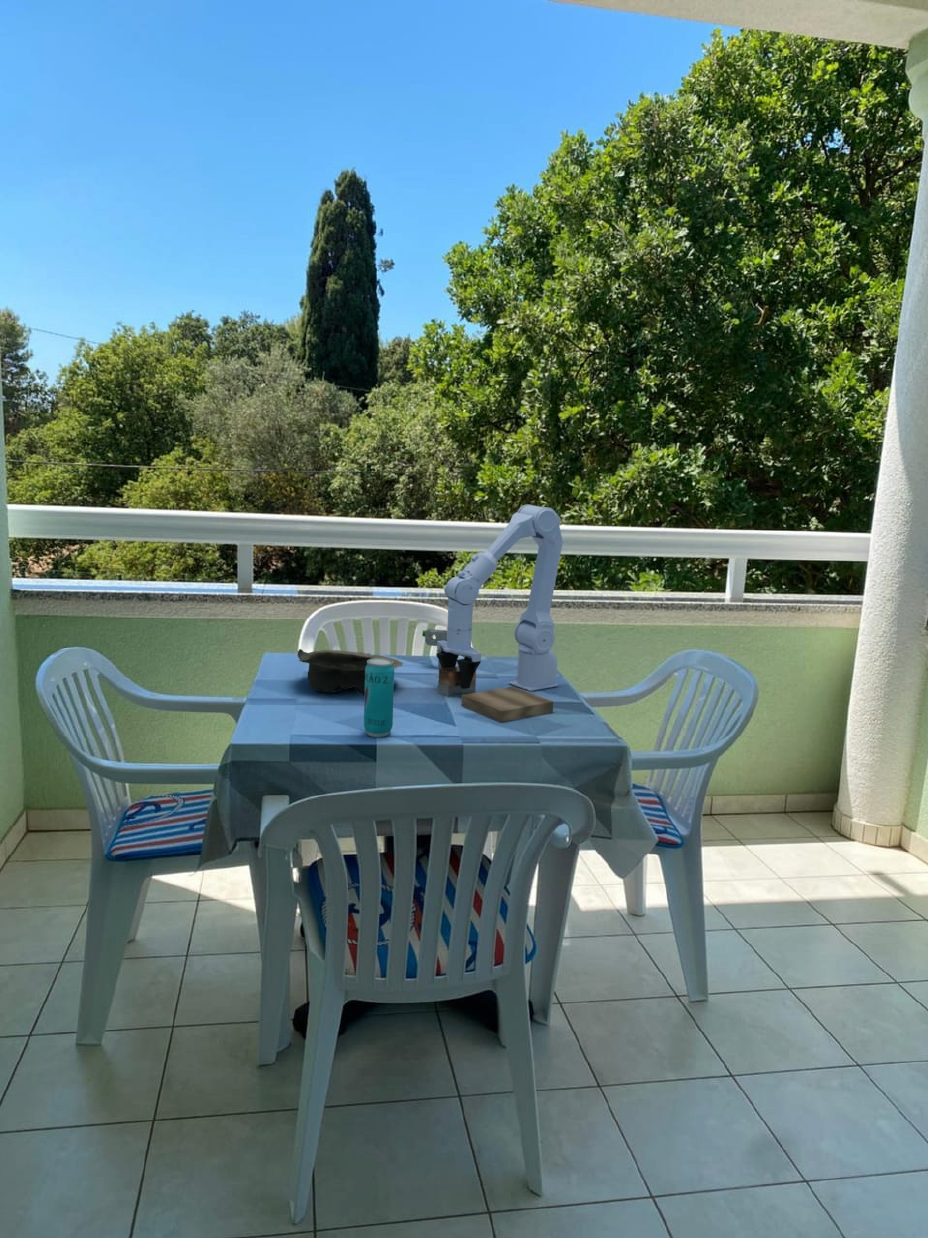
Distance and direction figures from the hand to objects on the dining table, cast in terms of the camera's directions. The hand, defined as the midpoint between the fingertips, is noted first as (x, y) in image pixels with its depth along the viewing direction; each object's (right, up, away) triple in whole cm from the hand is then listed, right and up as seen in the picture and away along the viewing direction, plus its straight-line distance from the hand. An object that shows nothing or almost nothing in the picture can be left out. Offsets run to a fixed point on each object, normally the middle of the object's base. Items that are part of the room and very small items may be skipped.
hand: (457, 684), depth 214 cm
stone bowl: (-26, -1, +2) cm, 26 cm away
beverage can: (-16, -8, -31) cm, 36 cm away
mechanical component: (-4, +2, +22) cm, 22 cm away
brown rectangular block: (0, -2, 0) cm, 2 cm away
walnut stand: (+11, -5, -11) cm, 16 cm away
